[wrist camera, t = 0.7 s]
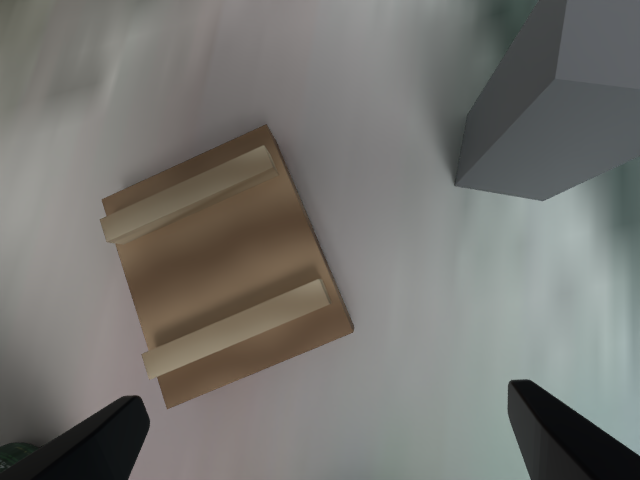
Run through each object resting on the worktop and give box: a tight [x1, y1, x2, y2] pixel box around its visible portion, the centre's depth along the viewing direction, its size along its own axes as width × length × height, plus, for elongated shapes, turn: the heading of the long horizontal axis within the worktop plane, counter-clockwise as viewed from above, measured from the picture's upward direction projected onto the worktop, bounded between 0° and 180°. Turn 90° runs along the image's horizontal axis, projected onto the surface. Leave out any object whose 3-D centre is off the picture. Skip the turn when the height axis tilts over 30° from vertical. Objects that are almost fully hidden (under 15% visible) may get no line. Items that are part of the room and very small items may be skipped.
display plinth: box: [100, 124, 354, 409], centre depth 22 cm, size 14×12×4 cm
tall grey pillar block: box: [455, 0, 640, 201], centre depth 17 cm, size 5×6×12 cm
